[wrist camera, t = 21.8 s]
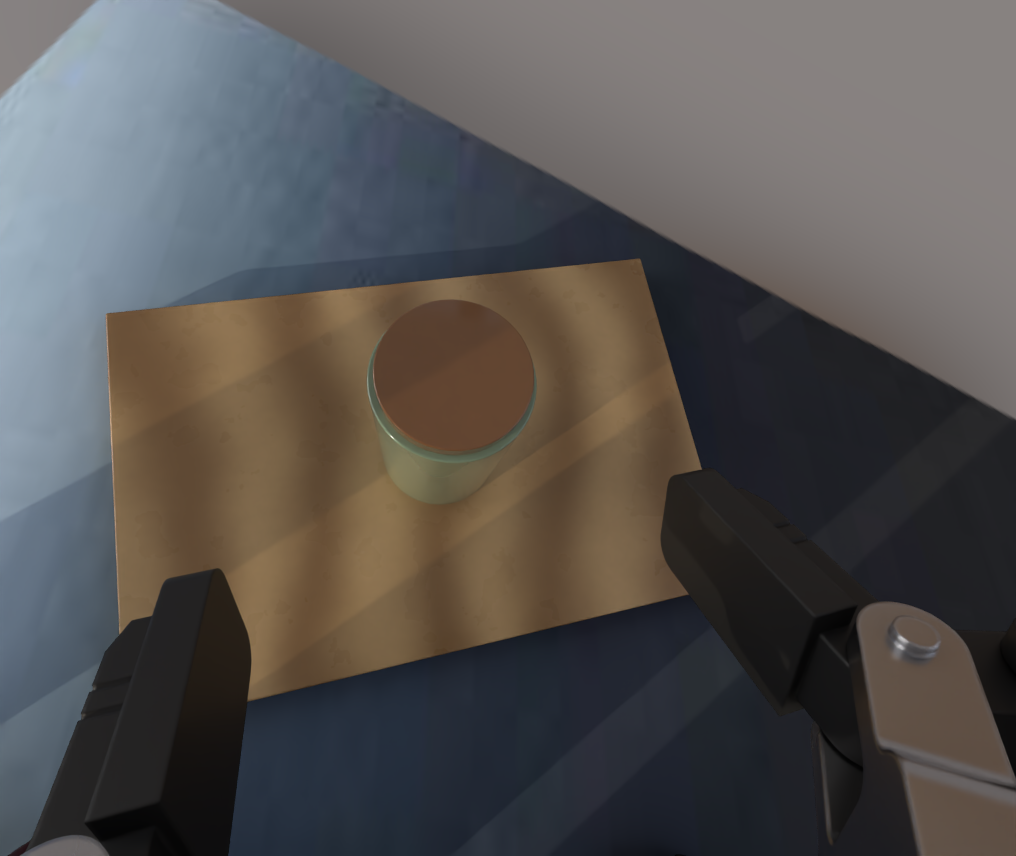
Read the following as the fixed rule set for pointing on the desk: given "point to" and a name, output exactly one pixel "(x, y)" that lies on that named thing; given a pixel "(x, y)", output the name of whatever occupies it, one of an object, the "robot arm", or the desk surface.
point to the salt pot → (448, 397)
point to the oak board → (367, 485)
